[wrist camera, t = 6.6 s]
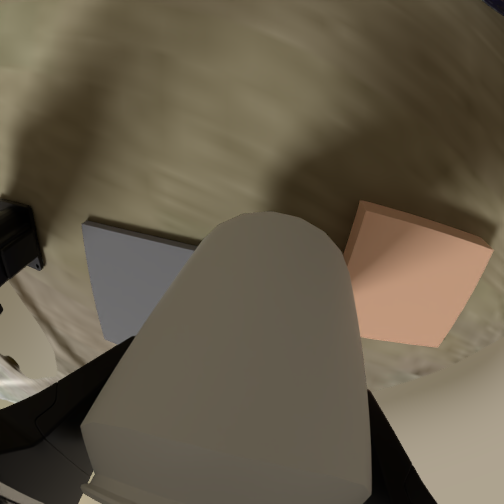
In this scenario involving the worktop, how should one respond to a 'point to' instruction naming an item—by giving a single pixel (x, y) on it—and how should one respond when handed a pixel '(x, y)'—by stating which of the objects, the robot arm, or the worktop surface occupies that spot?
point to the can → (241, 380)
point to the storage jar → (496, 5)
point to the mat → (129, 275)
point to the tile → (410, 274)
